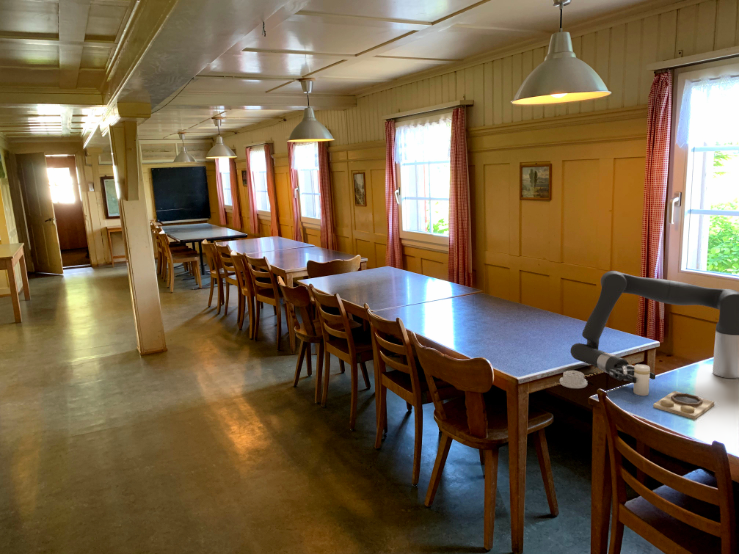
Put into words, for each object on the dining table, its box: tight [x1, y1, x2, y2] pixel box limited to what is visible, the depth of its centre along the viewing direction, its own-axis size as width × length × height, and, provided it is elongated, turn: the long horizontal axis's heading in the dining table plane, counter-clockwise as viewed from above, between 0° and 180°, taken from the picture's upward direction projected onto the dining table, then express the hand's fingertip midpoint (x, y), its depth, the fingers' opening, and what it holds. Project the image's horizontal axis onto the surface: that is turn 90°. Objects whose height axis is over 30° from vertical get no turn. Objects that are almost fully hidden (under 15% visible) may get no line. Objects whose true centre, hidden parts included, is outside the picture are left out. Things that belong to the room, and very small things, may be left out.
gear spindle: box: [632, 364, 651, 396], centre depth 194 cm, size 5×5×10 cm
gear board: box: [652, 390, 715, 420], centre depth 183 cm, size 16×13×2 cm
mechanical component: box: [559, 370, 588, 389], centre depth 206 cm, size 10×4×10 cm
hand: (645, 378), depth 193 cm, fingers open, 8 cm apart
